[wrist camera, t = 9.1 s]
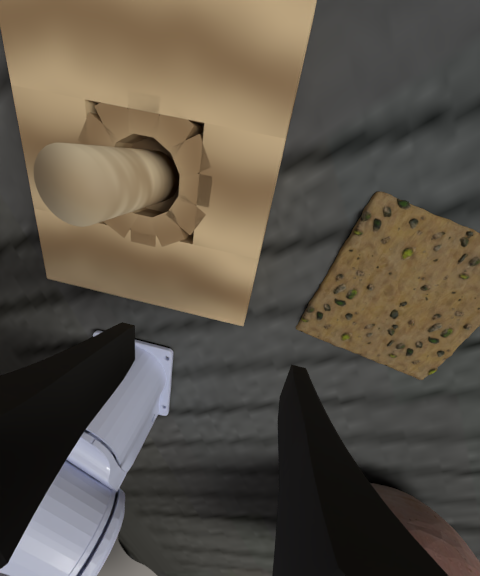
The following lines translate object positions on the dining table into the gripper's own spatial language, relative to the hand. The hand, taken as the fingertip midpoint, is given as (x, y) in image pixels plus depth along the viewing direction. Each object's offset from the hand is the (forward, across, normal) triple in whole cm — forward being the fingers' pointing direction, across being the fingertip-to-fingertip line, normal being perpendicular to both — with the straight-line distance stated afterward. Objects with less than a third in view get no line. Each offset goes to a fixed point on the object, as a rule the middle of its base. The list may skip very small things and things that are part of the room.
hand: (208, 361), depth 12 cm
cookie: (+10, -12, -1) cm, 16 cm away
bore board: (+10, +7, -6) cm, 14 cm away
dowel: (+9, +7, -6) cm, 13 cm away
